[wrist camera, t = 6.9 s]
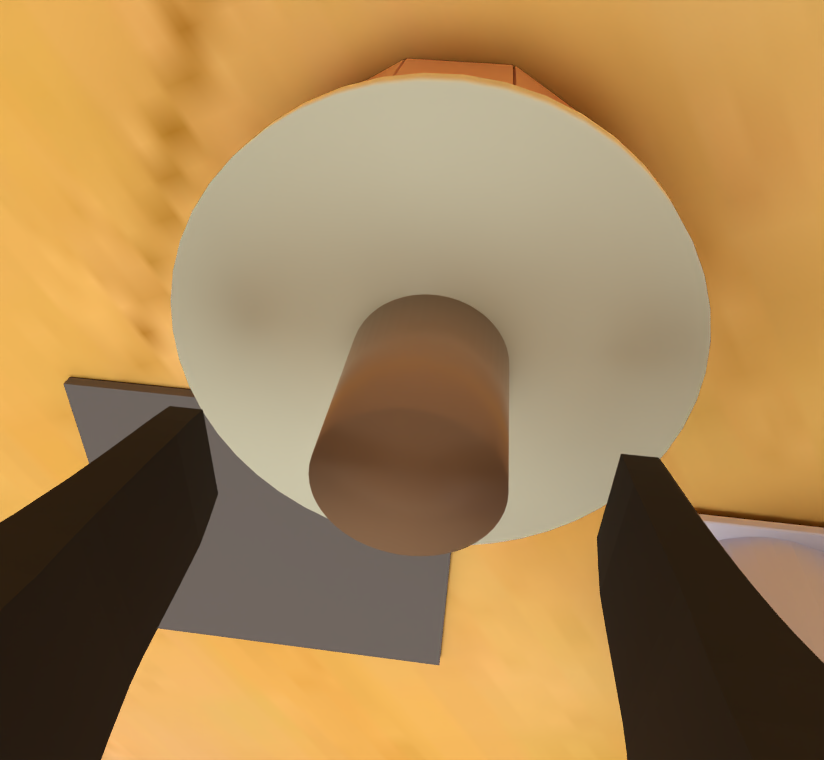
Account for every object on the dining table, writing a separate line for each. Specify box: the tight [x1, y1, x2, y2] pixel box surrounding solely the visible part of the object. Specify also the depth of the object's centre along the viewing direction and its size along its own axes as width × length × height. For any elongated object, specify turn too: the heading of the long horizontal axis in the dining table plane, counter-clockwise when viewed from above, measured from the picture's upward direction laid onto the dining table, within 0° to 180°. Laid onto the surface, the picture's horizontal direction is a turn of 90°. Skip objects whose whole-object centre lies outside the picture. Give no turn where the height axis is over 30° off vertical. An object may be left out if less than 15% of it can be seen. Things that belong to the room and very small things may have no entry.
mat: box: [64, 377, 451, 665], centre depth 27 cm, size 14×14×1 cm
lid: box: [171, 73, 711, 556], centre depth 14 cm, size 12×12×5 cm
